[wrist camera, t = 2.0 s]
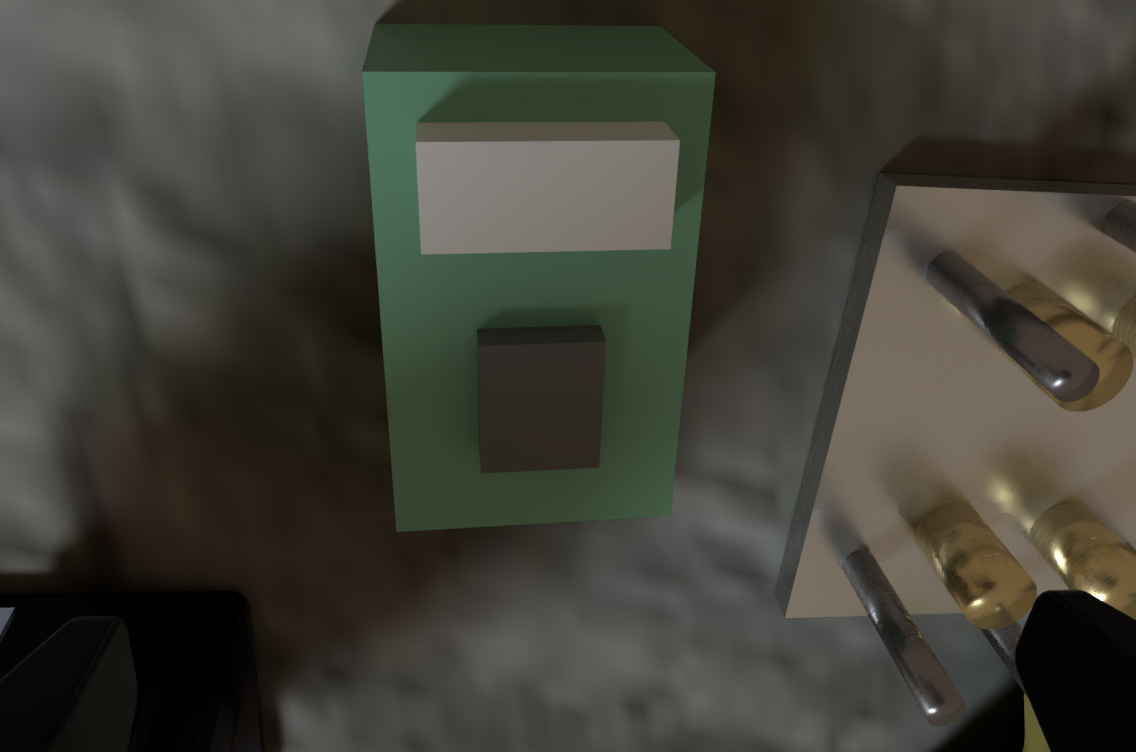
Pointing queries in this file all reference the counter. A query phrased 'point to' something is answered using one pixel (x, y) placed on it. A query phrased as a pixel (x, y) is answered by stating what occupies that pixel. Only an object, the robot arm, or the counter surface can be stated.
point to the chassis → (975, 418)
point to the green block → (534, 265)
